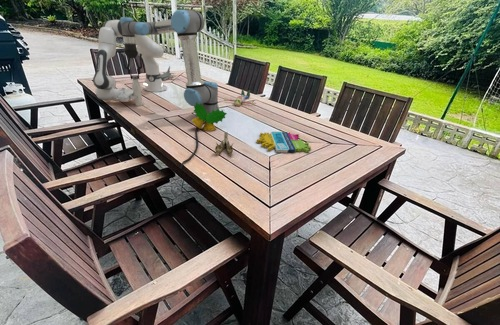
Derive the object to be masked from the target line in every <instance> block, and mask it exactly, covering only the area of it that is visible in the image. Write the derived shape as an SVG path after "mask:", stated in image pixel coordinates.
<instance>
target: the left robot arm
mask: <svg viewBox="0 0 500 325" xmlns="http://www.w3.org/2000/svg"><path fill="white" fill-rule="evenodd" d="M117 38H123V34H122V28H121V21H120V19H108V20H105V21H104V22H103V25H102V27H100V28H99V33H98V39H97V40H98V44H97V47H98V48H97V54H96V62H95V72H94V75H93V78H92V83H93V85H94V87H95V88H96V89H95V92H94V93H95V96H96V98H97V99H99V100H101V101H108V102H110V101H113V102H125V103H127V102H130V101H131V100H134V99H137V98H138V96H134V95H133V88H132V89H130V88H126V87H122V88H116V86H117V82H116V79H115V78H114V77H113V76H111V75H109V74H107V66H108V62H109V60H110V59H111V58H114V57H115V56H116V52H117ZM135 40H136V43H135V44H136V48H137V52H138V53H141V54H142V57H141V59H142V62H143V64H144V68H145V79H144V82H143V85H144V88H143V90H144V91H147V92H150V93H159V92H164V91H166V89H167V86H166V85H165V84H164V81H163V80H162V79H161V76H160V74H161V72H160V67H159V66H160V65H159V63H158V62H157V60H155V59H158V58H159V59H160V58H162V57H163V56H164V54H165V51H164V47H163V46H162V45H160V44H158V43H157V42H155V41H154V40H153V39H152V38H150V37H149V35H144V36H143V35H142V36H141V35H136V34H135Z"/></svg>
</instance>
